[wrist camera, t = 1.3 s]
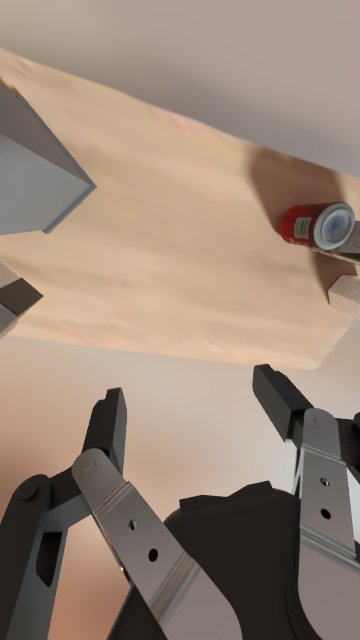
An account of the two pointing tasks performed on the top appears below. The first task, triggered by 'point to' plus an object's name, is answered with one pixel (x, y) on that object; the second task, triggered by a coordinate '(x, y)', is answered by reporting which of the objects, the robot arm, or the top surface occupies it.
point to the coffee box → (346, 248)
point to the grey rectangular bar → (14, 297)
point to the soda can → (317, 225)
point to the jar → (346, 295)
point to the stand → (34, 171)
